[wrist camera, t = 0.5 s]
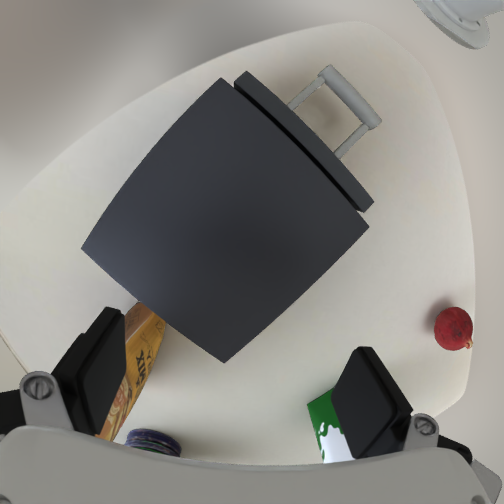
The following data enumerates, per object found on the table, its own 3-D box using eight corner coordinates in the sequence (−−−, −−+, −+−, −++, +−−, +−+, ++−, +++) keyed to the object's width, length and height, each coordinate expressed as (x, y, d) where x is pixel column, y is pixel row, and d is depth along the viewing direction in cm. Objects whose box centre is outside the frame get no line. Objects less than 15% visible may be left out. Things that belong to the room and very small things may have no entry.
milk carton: (298, 404, 35) (329, 527, 16) (351, 370, 33) (411, 490, 14) (326, 425, 37) (360, 527, 18) (374, 395, 36) (425, 494, 17)
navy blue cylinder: (126, 422, 35) (104, 495, 21) (184, 437, 36) (176, 514, 22) (128, 448, 37) (112, 511, 23) (179, 461, 39) (172, 526, 25)
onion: (418, 321, 32) (450, 353, 24) (444, 290, 31) (480, 317, 23) (432, 339, 33) (461, 369, 26) (457, 310, 32) (488, 336, 25)
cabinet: (225, 107, 23) (220, 77, 14) (327, 206, 27) (369, 227, 18) (125, 221, 26) (80, 248, 17) (226, 307, 29) (224, 363, 20)
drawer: (287, 58, 21) (305, 24, 14) (376, 151, 24) (420, 150, 17) (143, 205, 24) (111, 220, 17) (240, 289, 28) (243, 330, 21)
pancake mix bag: (94, 377, 32) (25, 538, 5) (127, 268, 27) (-40, 509, 1) (136, 397, 33) (90, 570, 6) (183, 296, 29) (107, 592, 2)
